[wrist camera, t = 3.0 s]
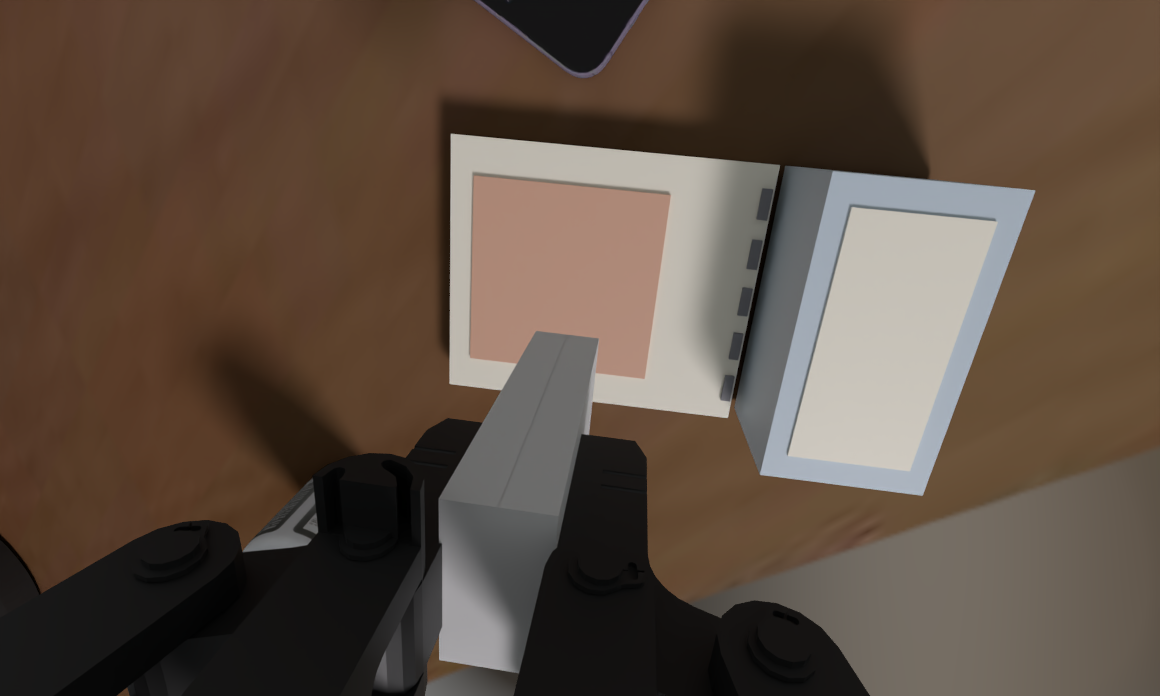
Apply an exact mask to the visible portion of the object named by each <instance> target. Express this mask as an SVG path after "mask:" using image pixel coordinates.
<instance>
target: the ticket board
mask: <svg viewBox="0 0 1160 696" xmlns="http://www.w3.org/2000/svg"><path fill="white" fill-rule="evenodd" d="M779 169H780V165H774V164H764V163H753V162H743V161H732V160H722V159H711V158H701V157H690V156H680V155H669V154H659V153H649V152H638V151H628V150H617V149H607V148H596V147H586V146H575V145H565V144H554V143H544V142H533V141H523V140H512V139H502V138H491V137H481V136H471V135H460V134H451V206H450V384H455V385H463V386H471V387H479V388H487V389H495V390H502V389H503V387H504V385H505V384H506V382H507V380H508V378H509V377H510V375H511V373H512V372H513V370H514V368H515V366H516V365H517V363H518V361H519V359H520V358H521V356H522V354H523V353H524V351H525V349H526V347H527V346H528V344H529V342H530V341H531V339H532V337H533V335H534V334H535V332H536V331H541V332H550V333H558V334H566V335H575V336H583V337H591V338H599V345H598V354H597V363H596V373H595V382H594V391H593V402H601V403H609V404H617V405H625V406H634V407H642V408H650V409H658V410H666V411H674V412H682V413H691V414H699V415H707V416H715V417H723V418H728V414H729V410H730V405H731V400H732V395H733V390H734V386H735V381H736V376H737V371H738V366H739V361H740V357H741V352H742V347H743V342H744V337H745V333H746V328H747V323H748V318H749V313H750V308H751V304H752V299H753V294H754V289H755V284H756V279H757V275H758V270H759V265H760V260H761V255H762V251H763V246H764V241H765V236H766V231H767V226H768V222H769V217H770V212H771V207H772V202H773V198H774V193H775V188H776V183H777V178H778V173H779Z"/></svg>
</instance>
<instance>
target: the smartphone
mask: <svg viewBox="0 0 1160 696" xmlns="http://www.w3.org/2000/svg"><path fill="white" fill-rule="evenodd" d="M474 1H476V2H477V3H478V4H479V5H481V6H482V7H483V8H485V9H486V10H487V11H488V12H490V13H491V14H492V15H494V16H495V17H496V18H497V19H499V20H500V21H501V22H503V23H504V24H505V25H506V26H508V27H509V28H510V29H512V30H513V31H514V32H515V33H517V34H518V35H519V36H521V37H522V38H523V39H524V40H526V41H527V42H528V43H530V44H531V45H532V46H534V47H535V48H536V49H537V50H539V51H540V52H541V53H543V54H544V55H545V56H546V57H548V58H549V59H550V60H552V61H553V62H554V63H555V64H557V65H558V66H559V67H561V68H562V69H563V70H564V71H566V72H567V73H569V74H571V75H572V76H575V77H578V78H589V77H592V76H594V75H596V74H598V73H599V72H600V71H601V70H602V69H603V68H604V67H605V66H606V64H607V63H608V62H609V60H610V59H611V57H612V56H613V54H614V52H615V51H616V49H617V48H618V46H619V45H620V43H621V42H622V40H623V39H624V37H625V35H626V34H627V32H628V31H629V29H630V28H631V27H632V26H633V24H634V23H635V21H636V20H637V18H638V16H639V14H640V12H641V11H642V9H643V8H644V6H645V5H646V4H647V2H648V1H649V0H474Z"/></svg>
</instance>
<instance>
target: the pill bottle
mask: <svg viewBox="0 0 1160 696" xmlns="http://www.w3.org/2000/svg"><path fill="white" fill-rule="evenodd" d="M317 533H318V525H317V515H316V506H315V496H314V486H313V478H312V479H311V480H310V481H309V482H308V483H307V484H306V485H305V486H304V487H303V488H302V489H301V490H300V491H299V492H298V493H297V494H296V495H295V496H294V497H293V498H292V499H291V500H290V501H289V502H288V503H287V504H286V505H285V506H284V507H283V508H282V509H281V510H280V511H279V512H278V513H277V514H276V515H275V517H274V518H273V519H272V520H271V521H270V522H269V523H268V524H267V525H266V526H265V527H264V528H263V529H262V530H261V531H260V532H259V533H258V534H257V535H256V536H255V537H254V538H253V539H252V540H251V541H250V543H249V544H248V545H247V546H246V548H245V549H244V550H243V552H248V551H259V550H270V549H282V548H292V547H298V546H304V545H308V544H309V542H310V541H311V540H312V539H313V538H314V536H315V535H316V534H317Z"/></svg>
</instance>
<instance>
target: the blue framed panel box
mask: <svg viewBox="0 0 1160 696" xmlns="http://www.w3.org/2000/svg"><path fill="white" fill-rule="evenodd" d="M1034 193H1035V190H1026V189H1017V188H1007V187H998V186H988V185H979V184H969V183H960V182H950V181H941V180H931V179H920V178H910V177H899V176H889V175H878V174H868V173H858V172H847V171H837V170H826V169H816V168H805V167H795V166H785V169H784V174H783V179H782V184H781V188H780V193H779V198H778V203H777V207H776V212H775V217H774V222H773V226H772V231H771V236H770V241H769V245H768V250H767V255H766V260H765V264H764V269H763V274H762V279H761V283H760V288H759V293H758V298H757V302H756V307H755V312H754V317H753V321H752V326H751V331H750V336H749V340H748V345H747V350H746V355H745V359H744V364H743V369H742V374H741V378H740V383H739V388H738V393H737V397H736V402H735V407H734V408H735V411H736V413H737V416H738V419H739V421H740V424H741V427H742V429H743V432H744V434H745V437H746V440H747V442H748V445H749V448H750V450H751V453H752V455H753V458H754V461H755V463H756V466H757V468H758V471H759V474H760V475H766V476H774V477H782V478H790V479H797V480H805V481H813V482H821V483H829V484H836V485H844V486H852V487H860V488H868V489H875V490H883V491H891V492H899V493H906V494H914V495H922V496H923V493H924V490H925V488H926V485H927V482H928V480H929V477H930V474H931V471H932V469H933V466H934V463H935V461H936V458H937V455H938V452H939V450H940V447H941V444H942V442H943V439H944V436H945V434H946V431H947V428H948V425H949V423H950V420H951V417H952V415H953V412H954V409H955V407H956V404H957V401H958V398H959V396H960V393H961V390H962V388H963V385H964V382H965V379H966V377H967V374H968V371H969V369H970V366H971V363H972V361H973V358H974V355H975V352H976V350H977V347H978V344H979V342H980V339H981V336H982V334H983V331H984V328H985V325H986V323H987V320H988V317H989V315H990V312H991V309H992V306H993V304H994V301H995V298H996V296H997V293H998V290H999V288H1000V285H1001V282H1002V279H1003V277H1004V274H1005V271H1006V269H1007V266H1008V263H1009V261H1010V258H1011V255H1012V252H1013V250H1014V247H1015V244H1016V242H1017V239H1018V236H1019V233H1020V231H1021V228H1022V225H1023V223H1024V220H1025V217H1026V215H1027V212H1028V209H1029V206H1030V204H1031V201H1032V198H1033V196H1034Z"/></svg>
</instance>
